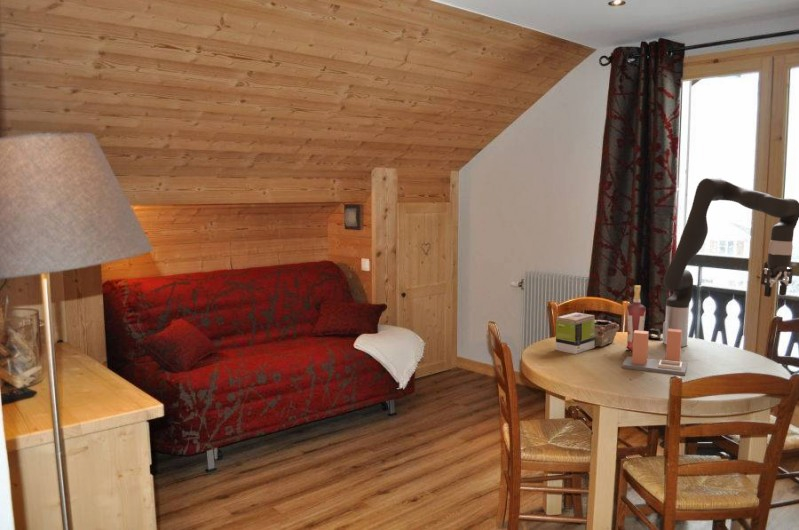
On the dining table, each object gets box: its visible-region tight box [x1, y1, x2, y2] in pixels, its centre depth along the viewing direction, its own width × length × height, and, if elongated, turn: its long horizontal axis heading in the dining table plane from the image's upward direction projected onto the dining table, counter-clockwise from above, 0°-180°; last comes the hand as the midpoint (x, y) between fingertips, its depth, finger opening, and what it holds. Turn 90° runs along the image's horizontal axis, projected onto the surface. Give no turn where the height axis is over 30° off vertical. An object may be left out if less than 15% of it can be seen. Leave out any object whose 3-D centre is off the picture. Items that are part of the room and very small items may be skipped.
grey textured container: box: [594, 319, 620, 348], centre depth 283 cm, size 13×20×10 cm, turn 132°
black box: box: [648, 328, 663, 342], centre depth 291 cm, size 13×8×5 cm, turn 46°
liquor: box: [625, 284, 647, 353], centre depth 267 cm, size 7×7×28 cm
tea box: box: [555, 312, 596, 355], centre depth 271 cm, size 15×10×15 cm, turn 131°
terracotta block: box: [665, 329, 682, 362], centre depth 255 cm, size 5×5×12 cm
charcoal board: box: [621, 330, 688, 377], centre depth 244 cm, size 22×14×13 cm, turn 63°
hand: (774, 295), depth 237 cm, fingers open, 8 cm apart
